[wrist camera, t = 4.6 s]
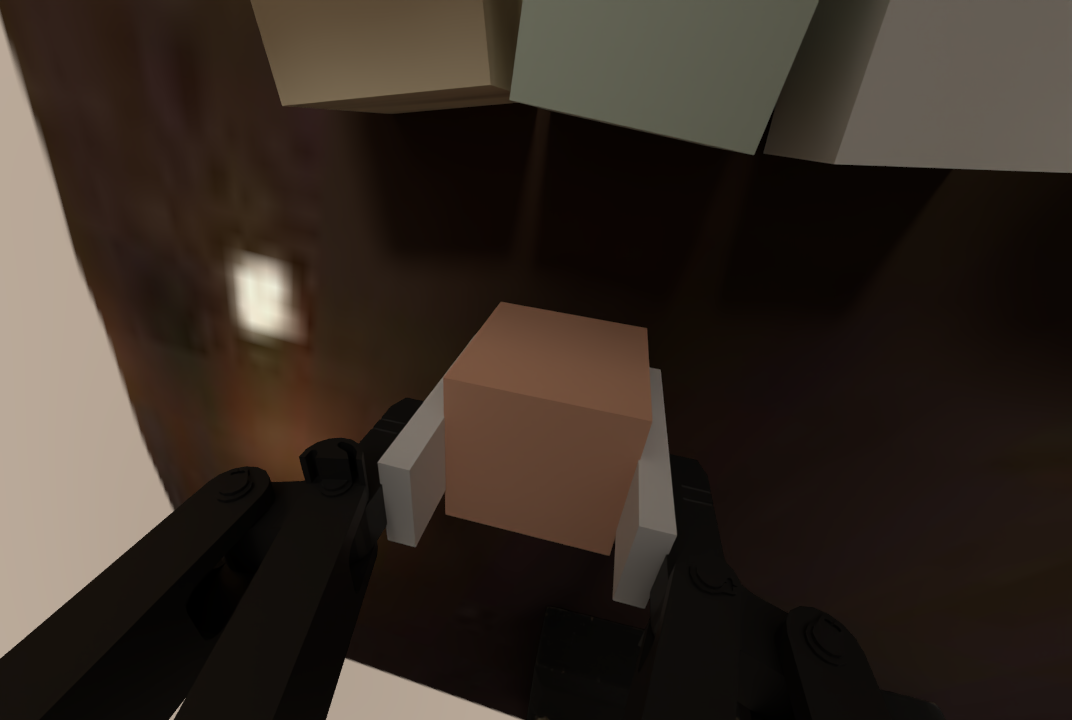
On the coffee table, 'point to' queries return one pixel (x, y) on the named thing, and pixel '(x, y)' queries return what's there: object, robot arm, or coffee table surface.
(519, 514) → the terracotta cube
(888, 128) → the offwhite cube
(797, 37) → the sage cube
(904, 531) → the coffee table surface
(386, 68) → the maple cube
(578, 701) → the coral
